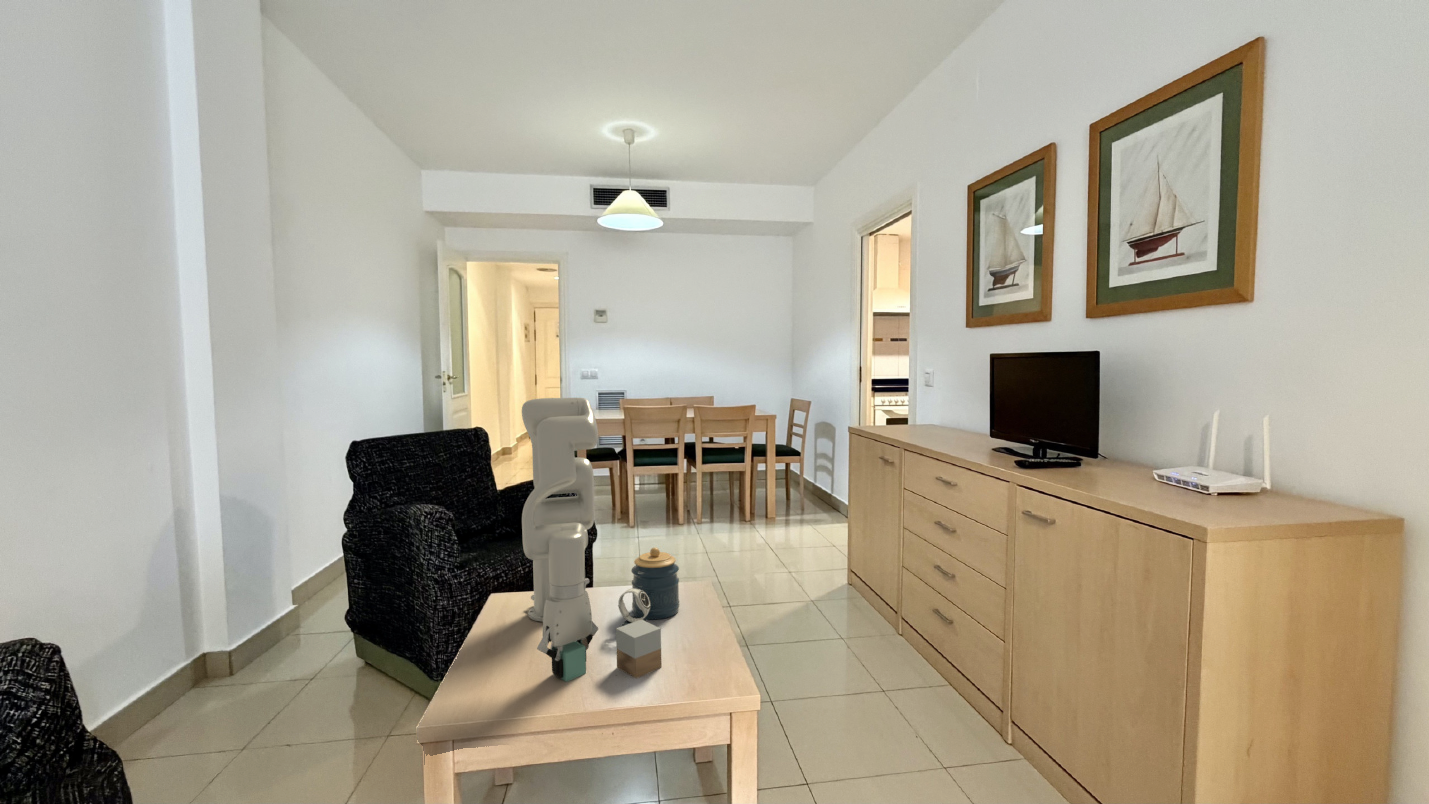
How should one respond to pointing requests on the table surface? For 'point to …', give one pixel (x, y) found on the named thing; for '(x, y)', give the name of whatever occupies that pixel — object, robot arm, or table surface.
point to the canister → (657, 584)
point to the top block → (638, 638)
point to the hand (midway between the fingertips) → (569, 670)
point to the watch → (641, 601)
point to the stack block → (573, 660)
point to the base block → (639, 663)
